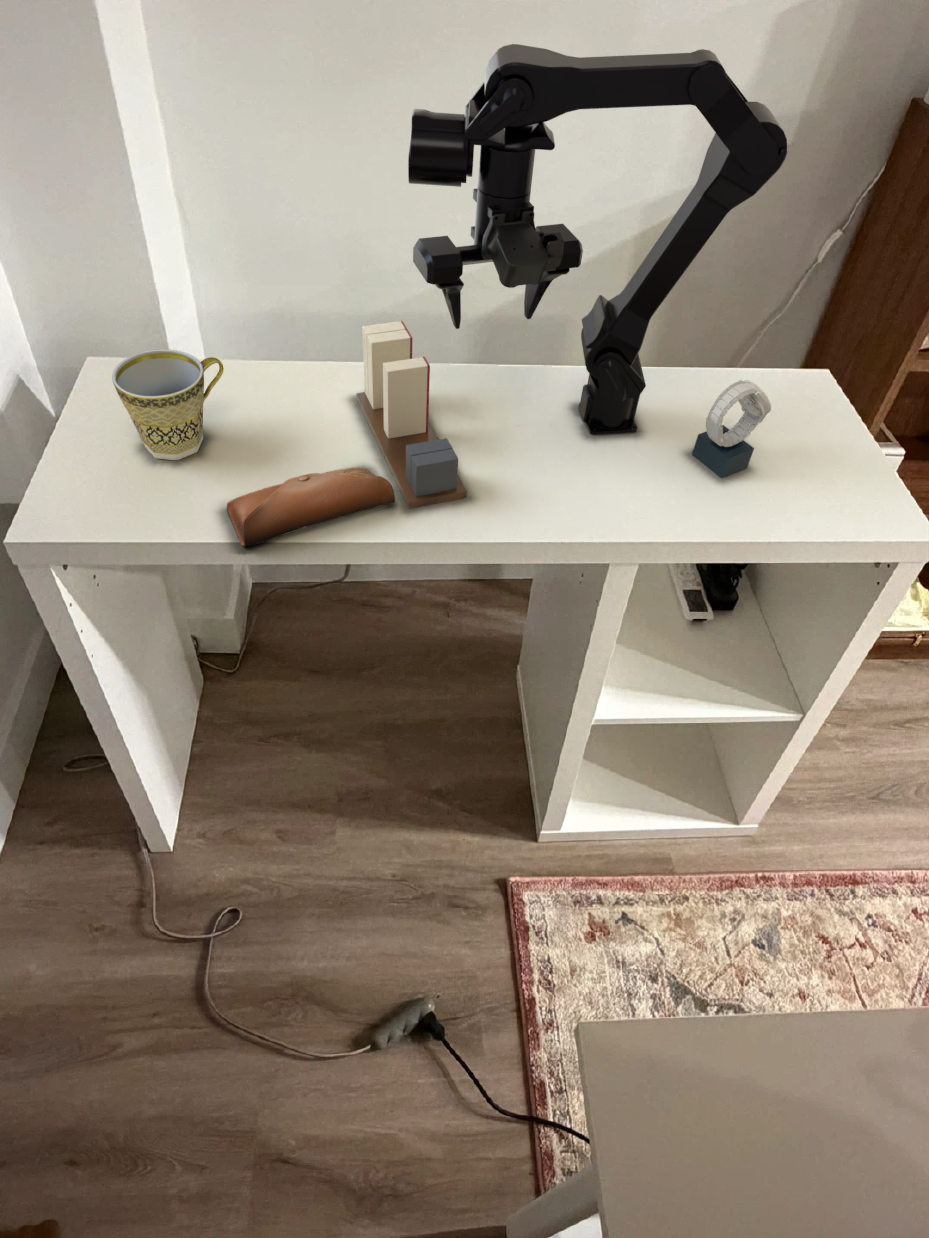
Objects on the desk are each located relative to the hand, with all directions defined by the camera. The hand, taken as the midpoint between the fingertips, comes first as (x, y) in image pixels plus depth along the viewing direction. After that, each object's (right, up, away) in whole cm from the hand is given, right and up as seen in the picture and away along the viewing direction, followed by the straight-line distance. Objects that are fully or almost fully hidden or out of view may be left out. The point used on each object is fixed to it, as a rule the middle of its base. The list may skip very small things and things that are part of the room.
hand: (492, 322), depth 104 cm
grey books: (-7, -20, -1) cm, 22 cm away
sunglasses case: (-21, -23, -5) cm, 32 cm away
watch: (+29, -16, +6) cm, 34 cm away
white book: (-11, -12, +4) cm, 17 cm away
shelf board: (-10, -14, +4) cm, 18 cm away
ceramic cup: (-38, -14, +3) cm, 40 cm away
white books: (-13, -7, +9) cm, 18 cm away
